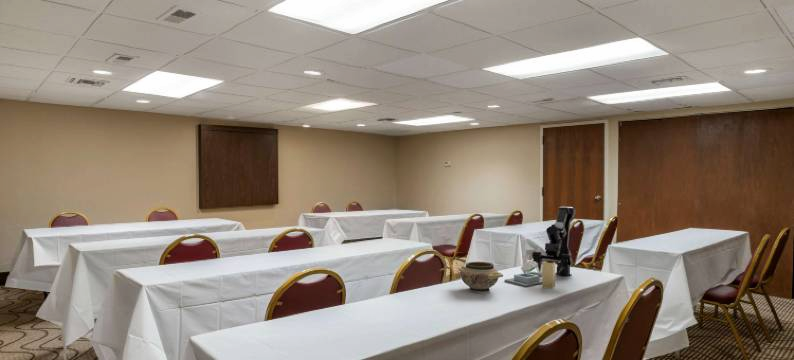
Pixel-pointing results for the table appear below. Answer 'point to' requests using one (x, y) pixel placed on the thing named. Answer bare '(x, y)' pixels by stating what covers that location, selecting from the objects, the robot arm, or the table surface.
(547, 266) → the tan rectangular block
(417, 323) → the table surface
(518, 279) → the housing plate
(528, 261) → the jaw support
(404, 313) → the table surface
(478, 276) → the ceramic bowl
